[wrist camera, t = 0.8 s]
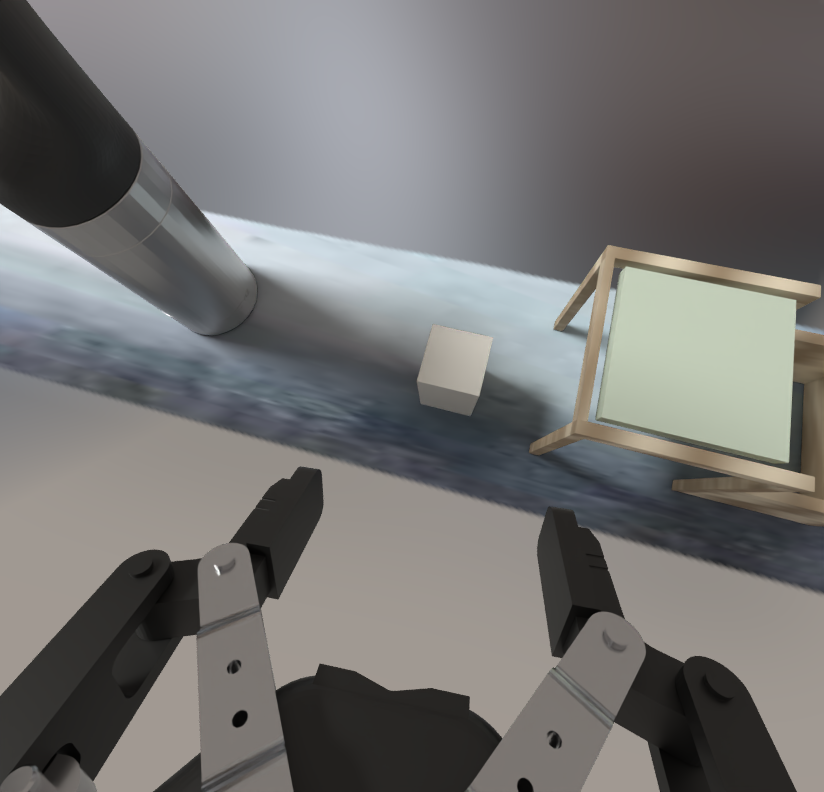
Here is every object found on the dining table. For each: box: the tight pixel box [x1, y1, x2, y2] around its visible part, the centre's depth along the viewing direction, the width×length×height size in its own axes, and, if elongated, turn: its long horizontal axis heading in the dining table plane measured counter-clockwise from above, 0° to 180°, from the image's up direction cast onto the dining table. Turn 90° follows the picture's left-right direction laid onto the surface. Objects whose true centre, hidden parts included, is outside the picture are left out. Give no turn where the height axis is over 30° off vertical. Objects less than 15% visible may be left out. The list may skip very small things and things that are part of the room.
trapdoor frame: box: [529, 245, 824, 527], centre depth 30 cm, size 24×14×12 cm, turn 75°
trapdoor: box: [595, 266, 796, 464], centre depth 25 cm, size 11×11×1 cm
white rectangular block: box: [417, 324, 493, 416], centre depth 35 cm, size 5×5×8 cm
